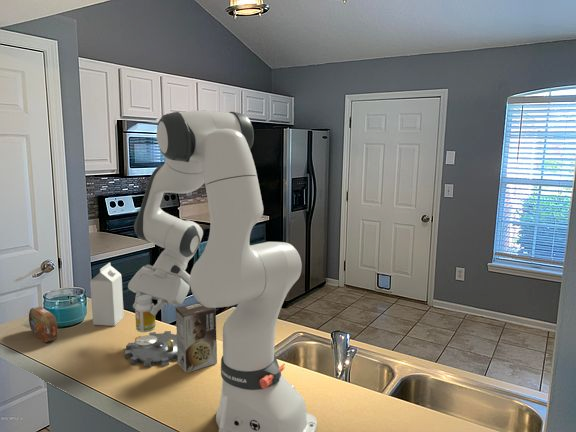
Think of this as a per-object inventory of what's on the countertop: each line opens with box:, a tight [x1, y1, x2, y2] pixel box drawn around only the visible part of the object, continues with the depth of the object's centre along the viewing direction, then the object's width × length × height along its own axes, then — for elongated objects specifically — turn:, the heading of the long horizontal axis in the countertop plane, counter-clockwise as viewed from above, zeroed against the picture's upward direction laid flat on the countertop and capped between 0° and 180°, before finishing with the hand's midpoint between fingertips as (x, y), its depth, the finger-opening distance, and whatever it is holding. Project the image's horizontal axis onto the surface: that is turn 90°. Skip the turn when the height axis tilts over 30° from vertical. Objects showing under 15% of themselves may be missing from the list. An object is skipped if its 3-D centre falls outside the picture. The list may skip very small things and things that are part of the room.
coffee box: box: [175, 302, 218, 374], centre depth 116 cm, size 9×6×16 cm
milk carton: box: [89, 262, 125, 327], centre depth 140 cm, size 7×7×19 cm
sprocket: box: [124, 330, 178, 368], centre depth 124 cm, size 18×18×4 cm
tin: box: [28, 306, 58, 343], centre depth 130 cm, size 15×3×8 cm, turn 50°
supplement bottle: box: [134, 295, 157, 333], centre depth 125 cm, size 5×5×10 cm
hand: (143, 311), depth 124 cm, fingers closed on supplement bottle, 5 cm apart
